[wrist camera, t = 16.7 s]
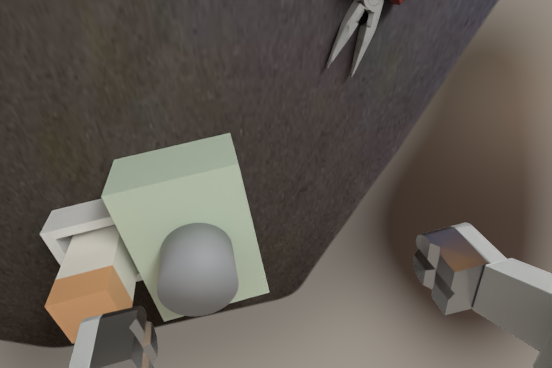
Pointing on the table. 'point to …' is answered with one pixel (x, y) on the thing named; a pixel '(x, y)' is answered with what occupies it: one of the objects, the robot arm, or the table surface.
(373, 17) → the pliers
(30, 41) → the table surface
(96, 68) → the table surface
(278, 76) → the table surface
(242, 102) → the table surface
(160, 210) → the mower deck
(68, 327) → the two-tone orange block
